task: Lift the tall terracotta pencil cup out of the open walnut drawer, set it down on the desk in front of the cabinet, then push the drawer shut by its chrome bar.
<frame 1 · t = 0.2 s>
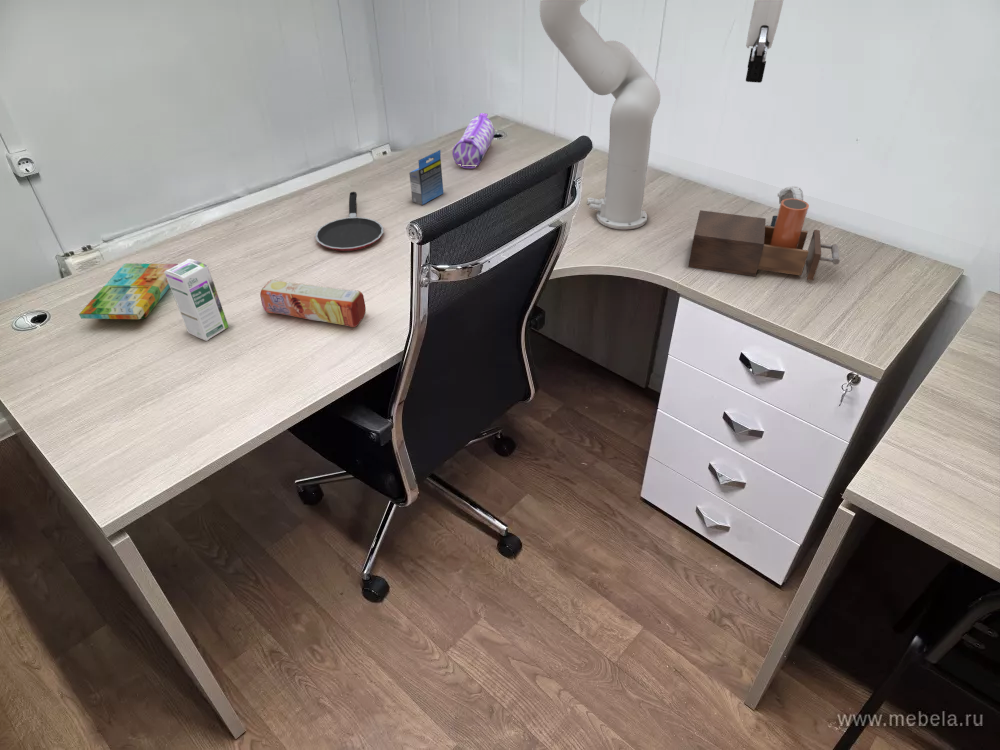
hand: (754, 75, 142), 37 cm above the table, tool pointing down, fingers open, 9 cm apart
frying pan: (351, 227, 170), on the table
syrup box: (208, 331, 136), on the table
puzzle game: (137, 303, 144), on the table
watch: (783, 231, 165), on the table
tape cartridge: (428, 198, 183), on the table
pencil cup: (779, 258, 151), point 2 cm above the table, touching drawer
pencil case: (474, 157, 205), on the table
cabinet: (723, 258, 155), on the table
snack package: (315, 316, 139), on the table
drawer: (794, 251, 149), point 4 cm above the table, slide at 10.5 cm, touching pencil cup
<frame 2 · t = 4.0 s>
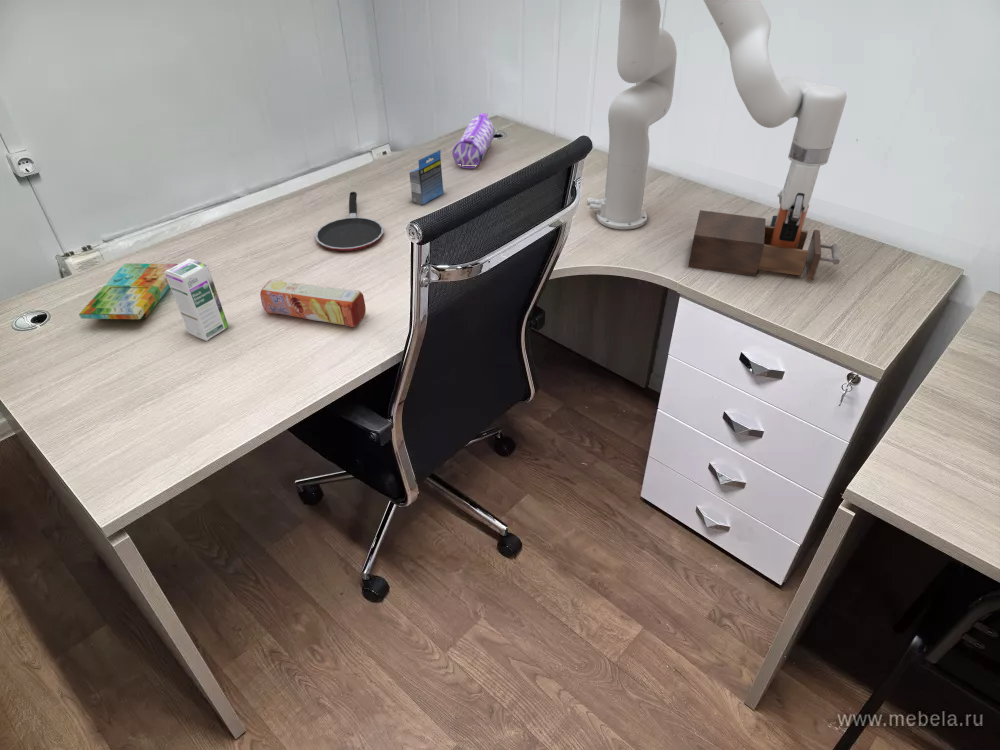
hand: (786, 232, 147), 8 cm above the table, tool pointing down, fingers closed on pencil cup, 5 cm apart
pencil cup: (779, 258, 151), point 2 cm above the table, touching drawer, gripper
everything else where it was.
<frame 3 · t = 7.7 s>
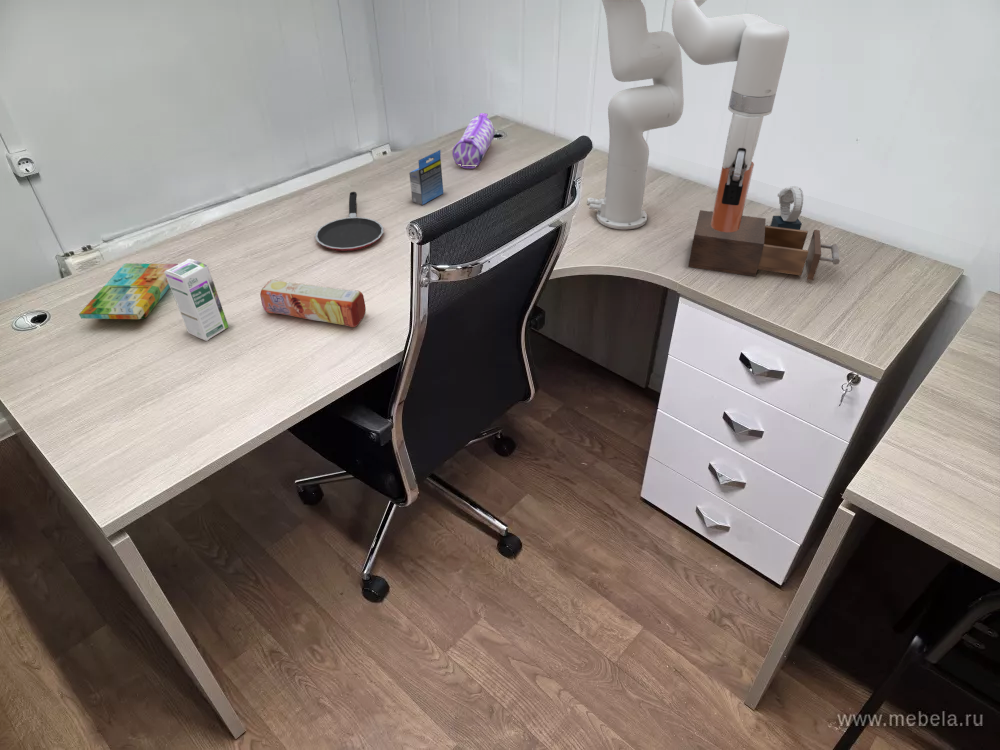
hand: (731, 196, 132), 21 cm above the table, tool pointing down, fingers closed on pencil cup, 5 cm apart
pencil cup: (724, 225, 136), point 15 cm above the table, touching gripper
drawer: (794, 251, 149), point 4 cm above the table, slide at 10.5 cm
everything else where it was.
when the fingers open (6 cm above the table, at t = 11.5 s): pencil cup stays where it is, on the table.
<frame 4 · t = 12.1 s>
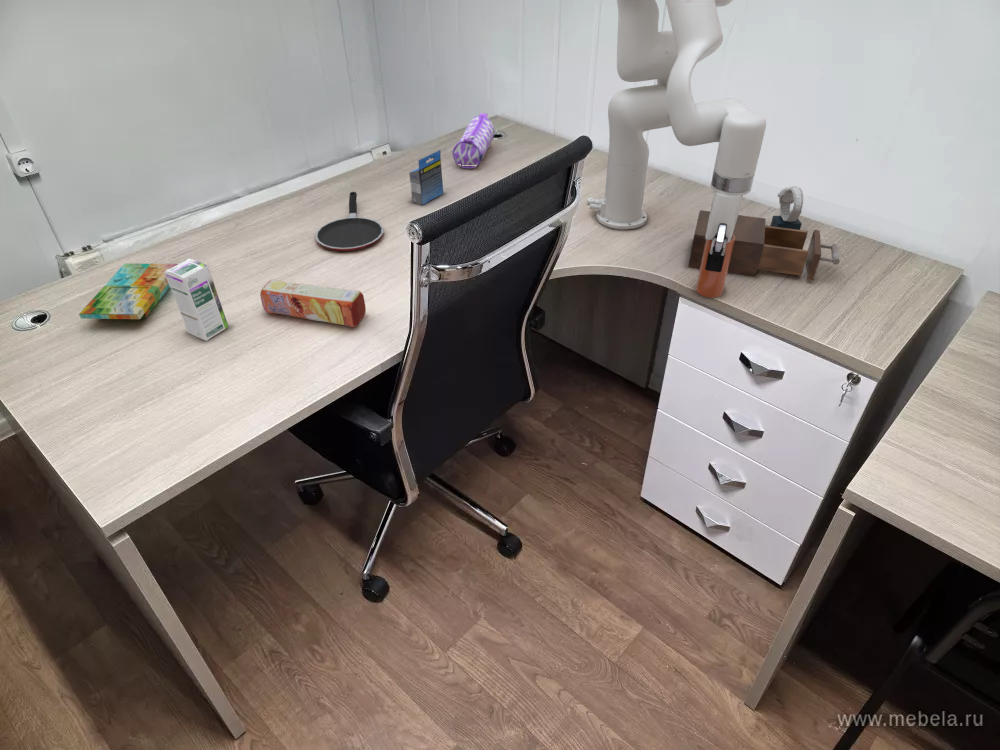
hand: (715, 258, 140), 8 cm above the table, tool pointing down, fingers open, 9 cm apart
pencil cup: (709, 290, 145), on the table
everything else where it was.
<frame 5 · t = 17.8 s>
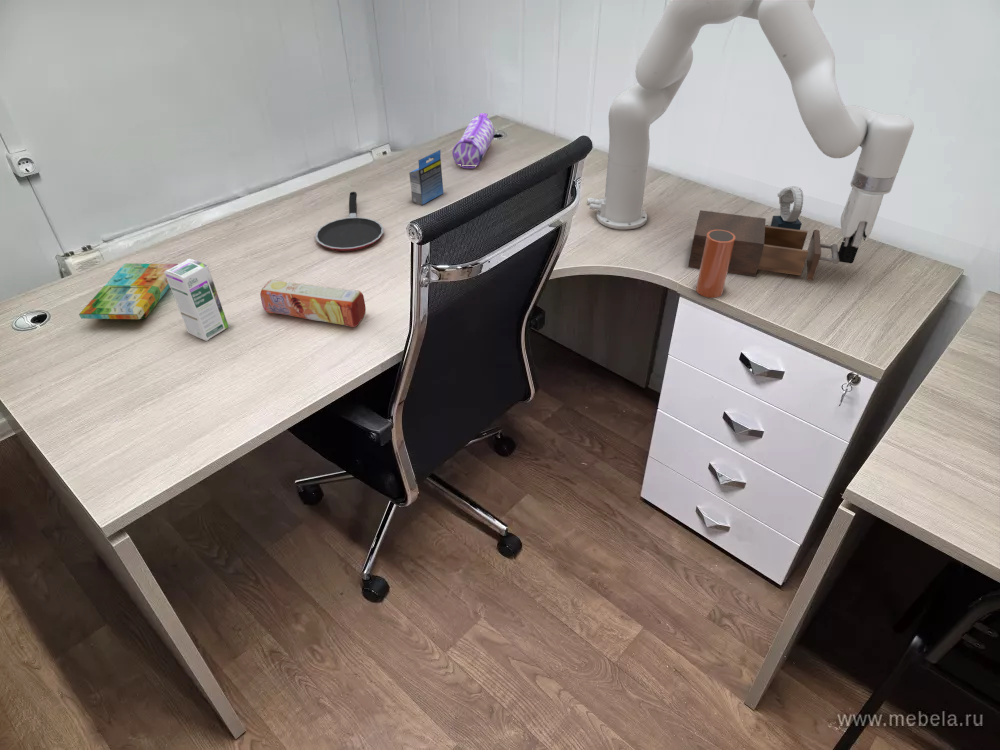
hand: (844, 260, 147), 4 cm above the table, tool pointing down, fingers closed
drawer: (794, 251, 149), point 4 cm above the table, slide at 10.4 cm, touching gripper
everything else where it was.
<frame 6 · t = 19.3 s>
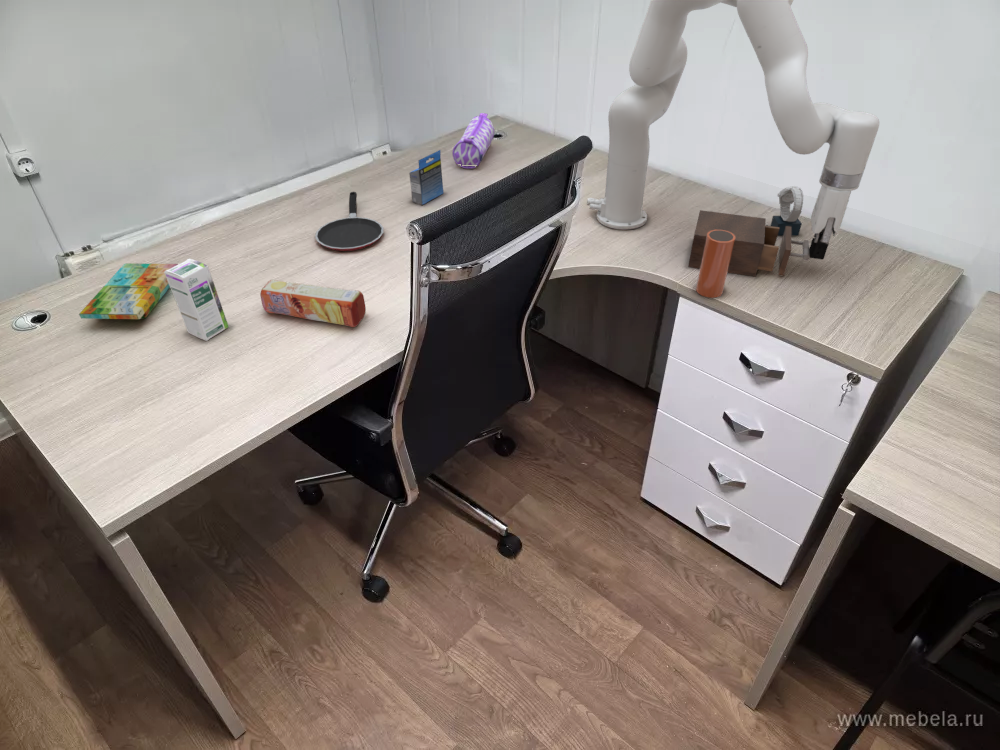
hand: (815, 256, 148), 4 cm above the table, tool pointing down, fingers closed
drawer: (766, 248, 151), point 4 cm above the table, slide at 4.5 cm, touching gripper
everything else where it was.
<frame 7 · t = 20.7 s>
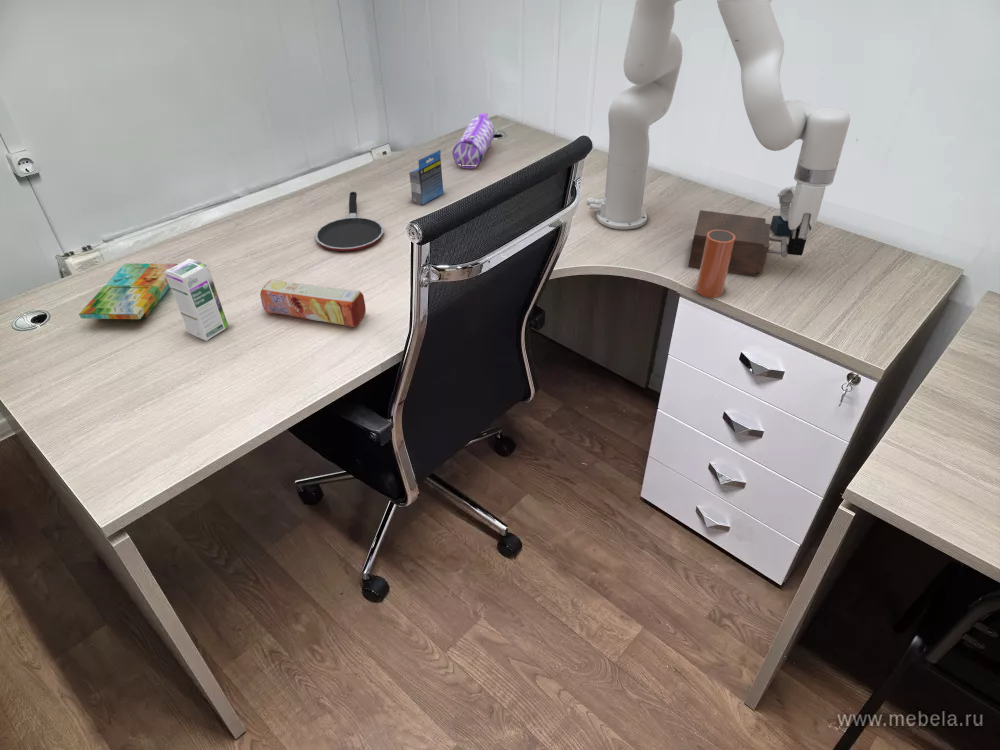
hand: (794, 253, 149), 4 cm above the table, tool pointing down, fingers closed
drawer: (744, 245, 152), point 4 cm above the table, slide at 0.0 cm, touching cabinet, gripper
everything else where it was.
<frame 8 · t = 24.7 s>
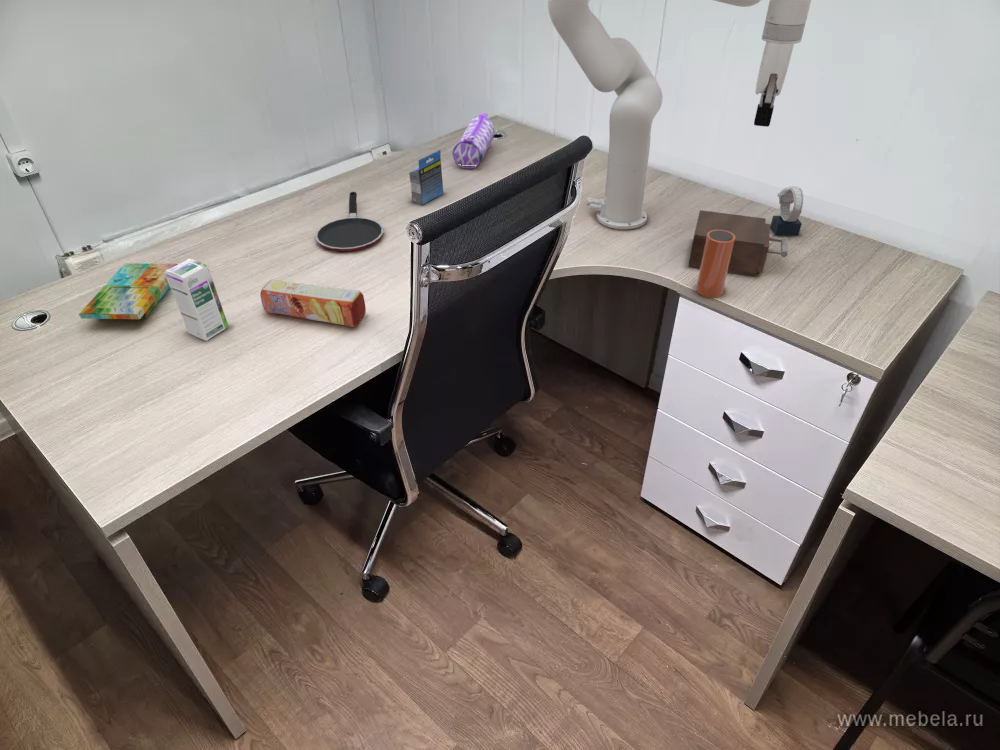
hand: (761, 124, 146), 27 cm above the table, tool pointing down, fingers closed
drawer: (744, 245, 152), point 4 cm above the table, slide at 0.0 cm, touching cabinet
everything else where it was.
at the end: pencil cup inside the target area (0.1 cm from its centre), on the table; pencil cup tilted 0°; drawer slide at 0.0 cm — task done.
